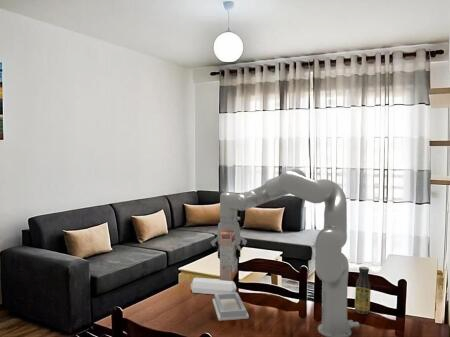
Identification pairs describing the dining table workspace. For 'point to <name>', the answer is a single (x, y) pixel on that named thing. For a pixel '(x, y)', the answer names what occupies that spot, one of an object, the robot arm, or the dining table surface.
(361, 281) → the sauce bottle
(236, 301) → the grey rectangular tray
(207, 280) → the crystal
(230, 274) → the cracker box
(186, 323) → the dining table surface
